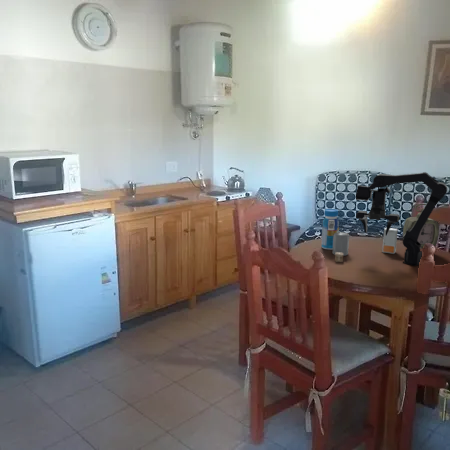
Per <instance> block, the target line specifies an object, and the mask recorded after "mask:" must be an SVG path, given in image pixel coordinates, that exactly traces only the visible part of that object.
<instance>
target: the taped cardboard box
mask: <svg viewBox="0 0 450 450" xmlns="http://www.w3.org/2000/svg"><path fill="white" fill-rule="evenodd" d="M334 262H336V263H344V256H343V253H340V252H335V255H334Z"/></svg>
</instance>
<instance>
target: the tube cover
mask: <svg viewBox="0 0 450 450" xmlns="http://www.w3.org/2000/svg"><path fill="white" fill-rule="evenodd" d="M349 241H350V235H349V233H347V232H341V231H340V232H339V231H338V233H334V235H333V250H332V254H333V255H334V256H335V252H340V253H343V257H344V256H347V255H348V254H349V245H350V244H349V243H350V242H349Z"/></svg>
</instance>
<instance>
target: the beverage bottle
mask: <svg viewBox="0 0 450 450" xmlns="http://www.w3.org/2000/svg"><path fill="white" fill-rule="evenodd" d="M323 214H324V219H323V220H322V227H321V229H322V231H321V248H322V249H324V250H327V251H328V250H330V251H333V235H334V233H338V232H339V230H340V227H339V225H340V222H339V219H338V216H339V210H338V209H337V208H336V209H335V208H325V210H324V213H323Z"/></svg>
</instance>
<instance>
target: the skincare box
mask: <svg viewBox="0 0 450 450" xmlns="http://www.w3.org/2000/svg"><path fill="white" fill-rule="evenodd" d="M386 229H387V227H385V228H384V230H383V238H382V250H381V253H387V254H393V255H394V254H395V253H396V252H397V251H396V250H397V240H398V231H399V230H398V228H392V227H390V229H389V231H388V234H387V236H386Z"/></svg>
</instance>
